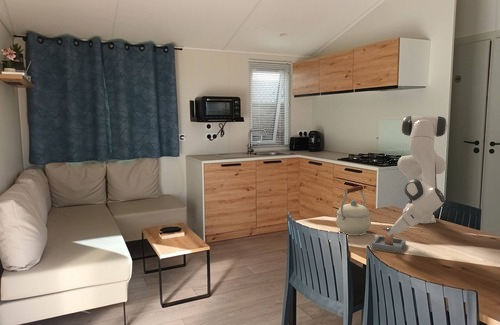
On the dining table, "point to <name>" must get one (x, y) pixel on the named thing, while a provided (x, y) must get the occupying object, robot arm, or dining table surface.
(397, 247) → the tray
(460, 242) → the dining table surface
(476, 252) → the dining table surface
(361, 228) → the kettle
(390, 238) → the terracotta jar
